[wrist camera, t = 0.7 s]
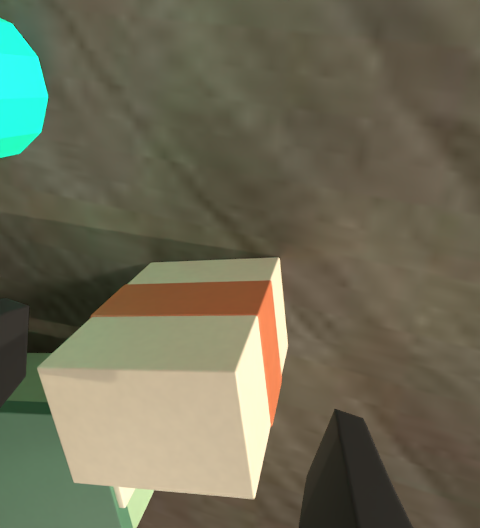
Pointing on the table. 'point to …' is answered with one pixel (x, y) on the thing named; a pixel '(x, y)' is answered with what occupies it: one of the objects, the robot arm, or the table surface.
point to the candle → (19, 92)
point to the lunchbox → (51, 470)
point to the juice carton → (174, 379)
